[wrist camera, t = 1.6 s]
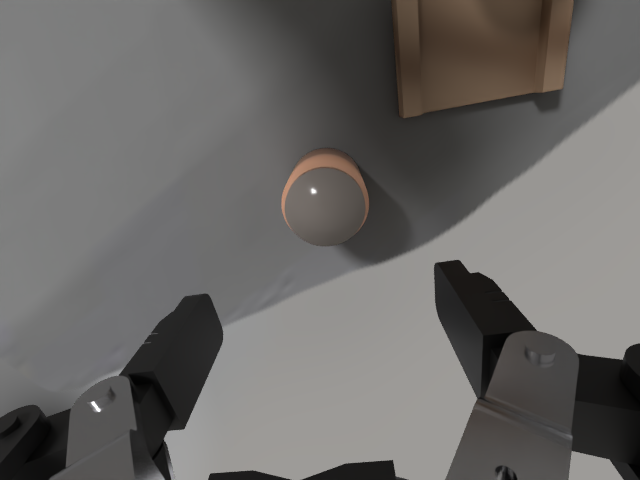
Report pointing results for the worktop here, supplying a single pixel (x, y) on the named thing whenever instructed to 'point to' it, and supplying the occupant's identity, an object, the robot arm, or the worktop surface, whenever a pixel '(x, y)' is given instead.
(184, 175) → the worktop surface
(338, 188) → the terracotta jar
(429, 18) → the lane
